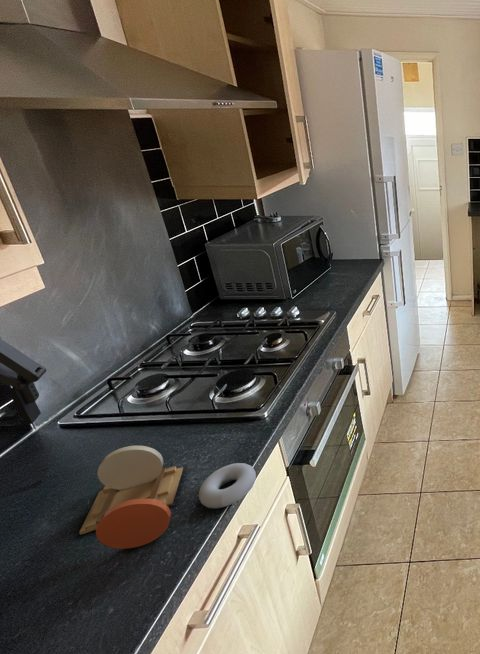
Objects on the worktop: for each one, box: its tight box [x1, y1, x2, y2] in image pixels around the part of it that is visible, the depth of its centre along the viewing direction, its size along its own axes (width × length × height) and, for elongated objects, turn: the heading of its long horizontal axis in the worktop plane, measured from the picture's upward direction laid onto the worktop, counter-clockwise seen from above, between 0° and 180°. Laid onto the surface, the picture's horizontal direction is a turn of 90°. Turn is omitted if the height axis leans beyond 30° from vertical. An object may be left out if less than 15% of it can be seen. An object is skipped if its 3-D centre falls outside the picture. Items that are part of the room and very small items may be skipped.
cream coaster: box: [96, 445, 165, 490], centre depth 85 cm, size 10×1×10 cm, turn 116°
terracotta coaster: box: [95, 498, 172, 550], centre depth 74 cm, size 10×1×10 cm, turn 116°
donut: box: [198, 462, 257, 509], centre depth 86 cm, size 10×4×10 cm
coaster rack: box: [78, 465, 184, 536], centre depth 84 cm, size 14×10×2 cm
